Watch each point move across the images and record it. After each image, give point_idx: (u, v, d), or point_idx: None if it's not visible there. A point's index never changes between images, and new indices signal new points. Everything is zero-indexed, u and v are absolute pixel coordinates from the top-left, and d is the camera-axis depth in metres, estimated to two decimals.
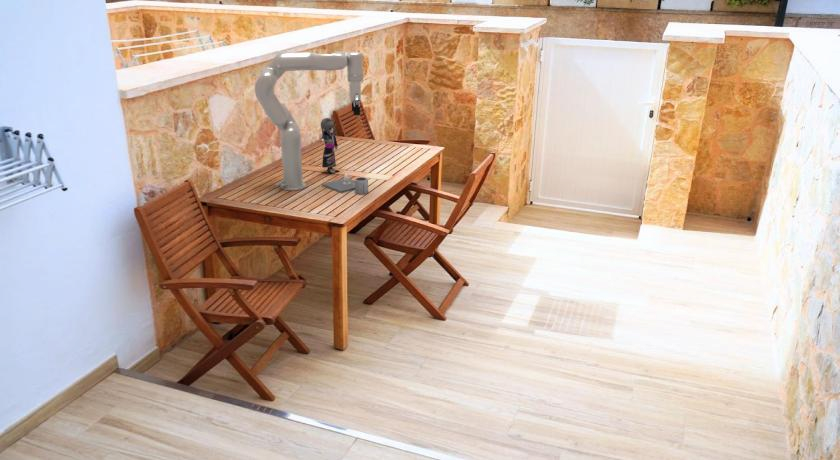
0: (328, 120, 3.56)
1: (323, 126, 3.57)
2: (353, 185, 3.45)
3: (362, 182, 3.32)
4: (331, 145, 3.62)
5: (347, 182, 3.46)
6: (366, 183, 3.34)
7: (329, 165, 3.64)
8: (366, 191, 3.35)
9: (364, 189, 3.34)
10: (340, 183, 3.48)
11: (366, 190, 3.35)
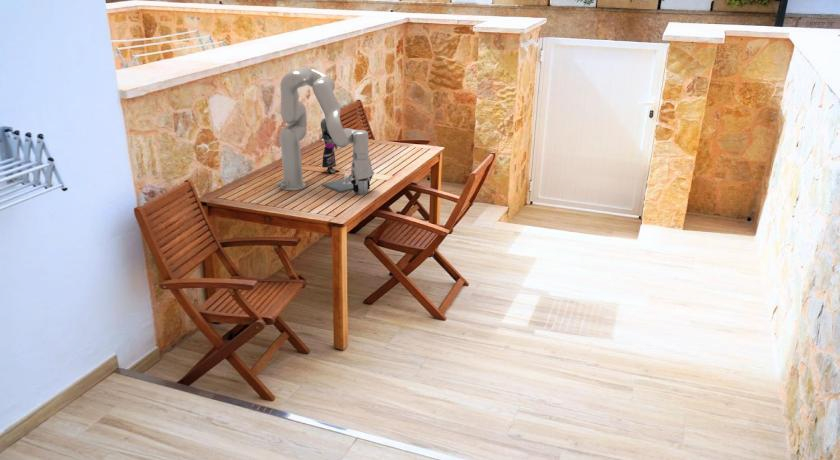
0: None
1: (323, 126, 3.57)
2: None
3: (362, 182, 3.32)
4: (331, 145, 3.62)
5: (347, 182, 3.46)
6: (366, 183, 3.34)
7: (329, 165, 3.64)
8: (366, 191, 3.35)
9: (364, 189, 3.34)
10: (340, 183, 3.48)
11: (366, 190, 3.35)
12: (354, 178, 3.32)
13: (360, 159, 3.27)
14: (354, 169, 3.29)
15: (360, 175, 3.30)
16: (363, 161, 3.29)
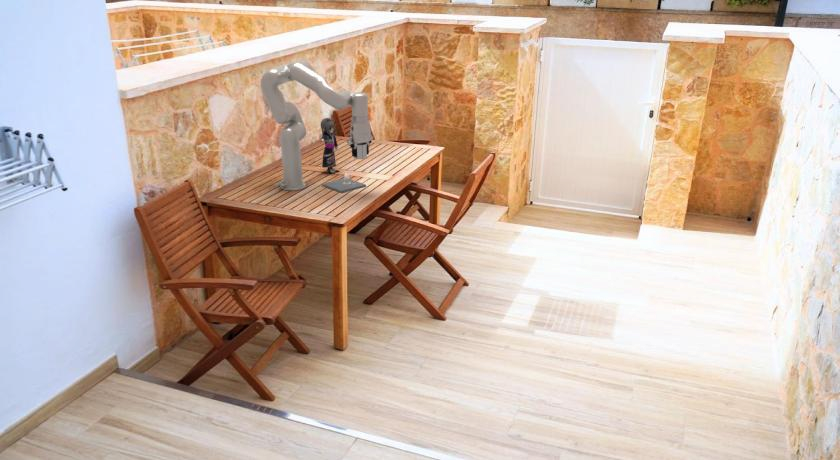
0: (328, 120, 3.56)
1: (323, 126, 3.57)
2: (353, 185, 3.45)
3: (361, 146, 3.26)
4: (331, 145, 3.62)
5: (347, 182, 3.46)
6: (365, 147, 3.27)
7: (329, 165, 3.64)
8: (365, 156, 3.29)
9: (363, 154, 3.27)
10: (340, 183, 3.48)
11: (365, 155, 3.28)
12: (353, 142, 3.26)
13: (359, 122, 3.21)
14: (353, 132, 3.22)
15: (359, 139, 3.23)
16: (362, 124, 3.23)
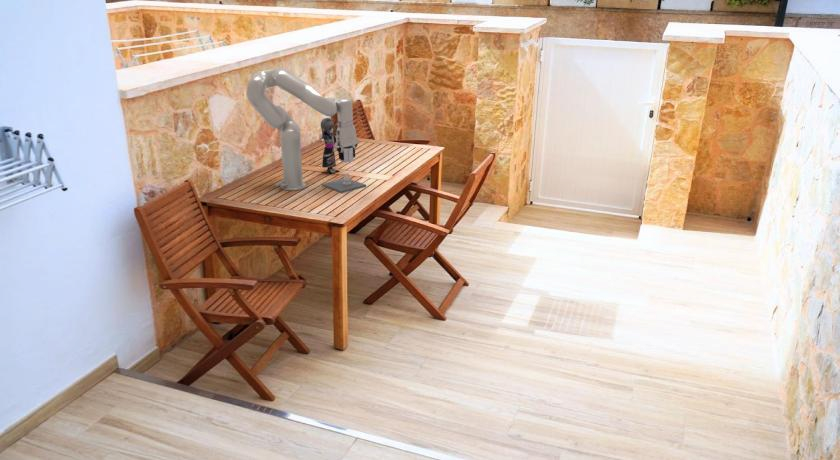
0: (328, 120, 3.56)
1: (323, 126, 3.57)
2: (353, 185, 3.45)
3: (347, 150, 3.38)
4: (331, 145, 3.62)
5: (347, 182, 3.46)
6: (351, 151, 3.39)
7: (329, 165, 3.64)
8: (351, 159, 3.41)
9: (349, 157, 3.40)
10: (340, 183, 3.48)
11: (351, 158, 3.41)
12: (339, 146, 3.38)
13: (345, 127, 3.33)
14: (339, 137, 3.35)
15: (345, 142, 3.36)
16: (348, 129, 3.35)
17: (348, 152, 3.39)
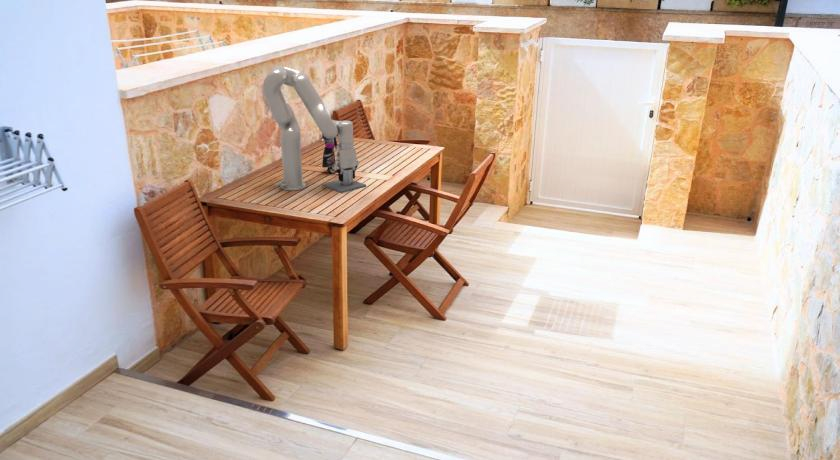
0: None
1: None
2: (353, 185, 3.45)
3: (347, 171, 3.42)
4: (331, 145, 3.62)
5: None
6: (351, 172, 3.43)
7: (329, 165, 3.64)
8: (351, 180, 3.45)
9: (349, 178, 3.44)
10: (340, 183, 3.48)
11: (351, 179, 3.45)
12: (339, 167, 3.42)
13: (345, 149, 3.37)
14: (339, 158, 3.39)
15: (345, 164, 3.40)
16: (348, 151, 3.39)
17: (348, 174, 3.43)
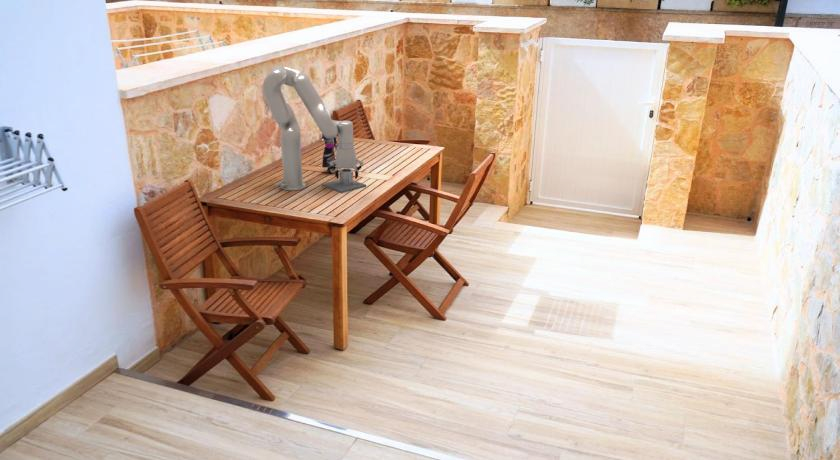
0: None
1: None
2: (353, 185, 3.45)
3: (342, 173, 3.43)
4: (331, 145, 3.62)
5: None
6: (346, 175, 3.43)
7: (329, 165, 3.64)
8: (347, 183, 3.44)
9: (344, 180, 3.44)
10: None
11: (347, 182, 3.44)
12: None
13: (340, 148, 3.38)
14: (336, 157, 3.42)
15: (340, 164, 3.41)
16: (344, 151, 3.39)
17: (343, 175, 3.43)
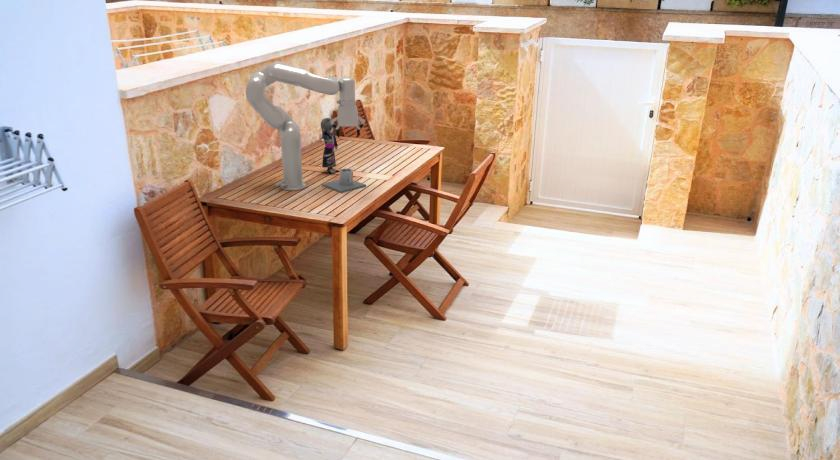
0: (328, 120, 3.56)
1: (323, 126, 3.57)
2: (353, 185, 3.45)
3: (342, 173, 3.43)
4: (331, 145, 3.62)
5: None
6: (346, 175, 3.43)
7: (329, 165, 3.64)
8: (347, 183, 3.44)
9: (344, 180, 3.44)
10: None
11: (347, 182, 3.44)
12: None
13: (342, 105, 3.31)
14: None
15: (342, 122, 3.33)
16: (346, 108, 3.31)
17: (343, 175, 3.43)
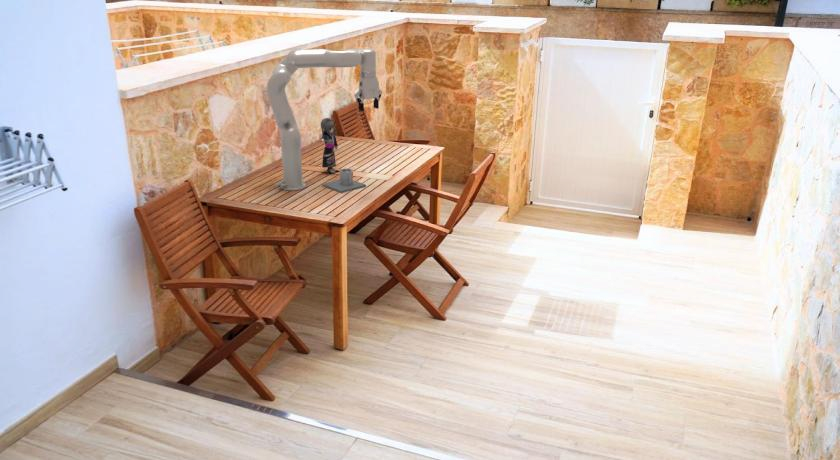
0: (328, 120, 3.56)
1: (323, 126, 3.57)
2: (353, 185, 3.45)
3: (342, 173, 3.43)
4: (331, 145, 3.62)
5: None
6: (346, 175, 3.43)
7: (329, 165, 3.64)
8: (347, 183, 3.44)
9: (344, 180, 3.44)
10: None
11: (347, 182, 3.44)
12: (360, 96, 3.34)
13: (367, 77, 3.30)
14: (361, 88, 3.31)
15: (367, 94, 3.33)
16: (370, 80, 3.32)
17: (343, 175, 3.43)
